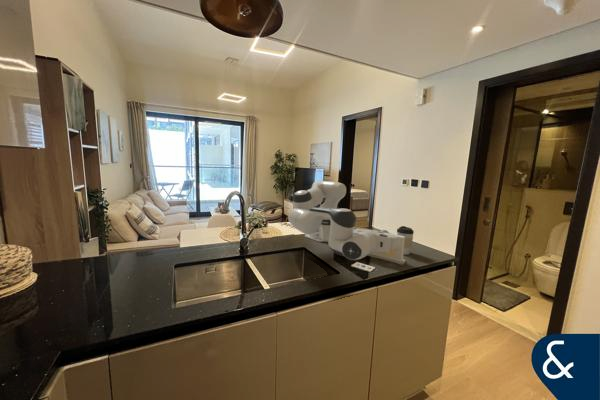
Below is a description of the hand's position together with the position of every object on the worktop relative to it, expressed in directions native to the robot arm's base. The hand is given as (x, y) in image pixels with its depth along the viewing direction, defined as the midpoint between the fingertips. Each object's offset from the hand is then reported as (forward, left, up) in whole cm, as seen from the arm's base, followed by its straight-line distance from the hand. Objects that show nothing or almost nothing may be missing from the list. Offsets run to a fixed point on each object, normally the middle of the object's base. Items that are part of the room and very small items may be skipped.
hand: (381, 233), depth 113 cm
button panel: (-8, +20, -19) cm, 29 cm away
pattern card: (-8, +1, -19) cm, 21 cm away
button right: (0, +16, -14) cm, 21 cm away
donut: (-13, +41, -20) cm, 48 cm away
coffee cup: (+1, +36, -20) cm, 41 cm away
